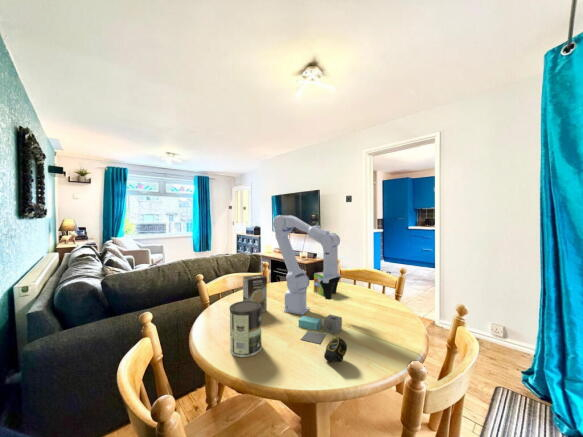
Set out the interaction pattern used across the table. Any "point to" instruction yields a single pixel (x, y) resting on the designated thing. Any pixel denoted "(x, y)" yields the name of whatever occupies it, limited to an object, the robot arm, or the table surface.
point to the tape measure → (335, 350)
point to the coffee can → (245, 328)
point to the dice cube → (333, 324)
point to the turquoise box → (310, 322)
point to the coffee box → (255, 290)
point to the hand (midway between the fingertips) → (330, 296)
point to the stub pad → (313, 337)
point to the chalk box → (318, 283)
